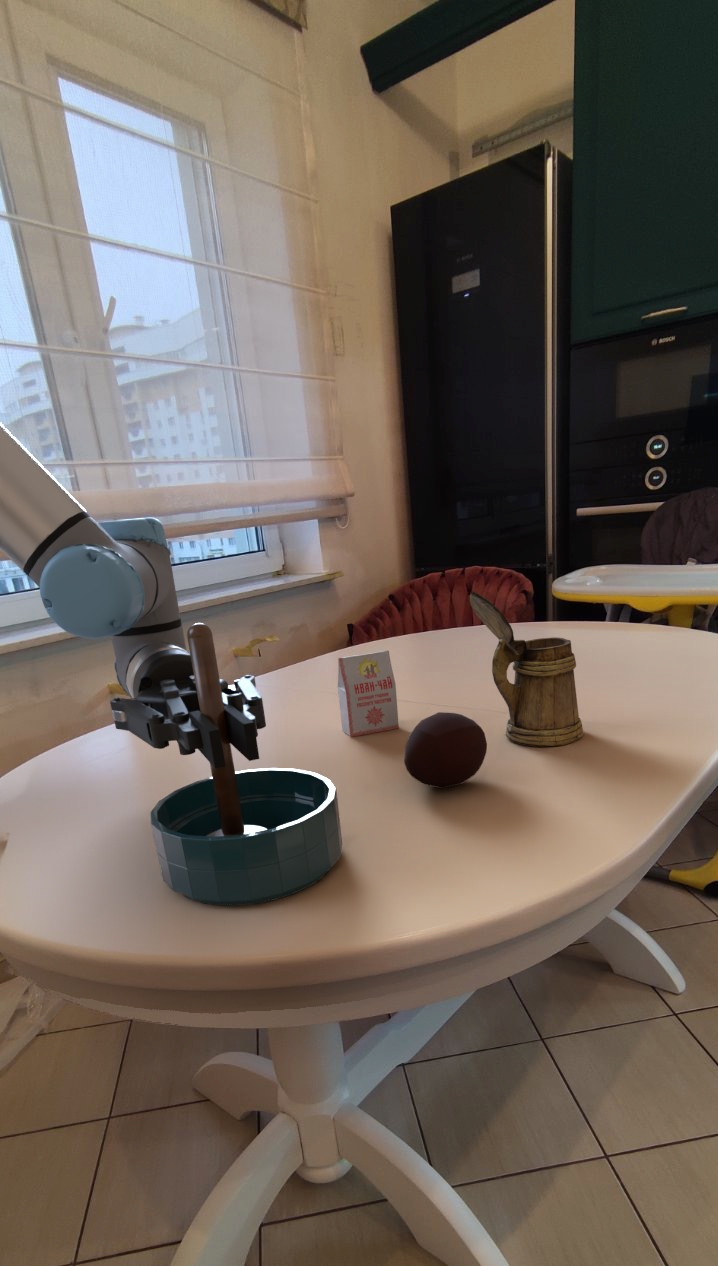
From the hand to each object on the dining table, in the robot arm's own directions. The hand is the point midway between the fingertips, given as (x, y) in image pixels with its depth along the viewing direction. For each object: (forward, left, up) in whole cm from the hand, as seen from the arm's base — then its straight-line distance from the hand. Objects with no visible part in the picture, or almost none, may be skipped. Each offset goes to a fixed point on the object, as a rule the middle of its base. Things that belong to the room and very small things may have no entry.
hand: (234, 745), depth 51 cm
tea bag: (-7, +45, -13) cm, 48 cm away
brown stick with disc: (-4, +4, -12) cm, 13 cm away
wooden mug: (+14, +42, -13) cm, 46 cm away
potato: (+8, +26, -13) cm, 30 cm away
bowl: (-4, +6, -13) cm, 15 cm away
